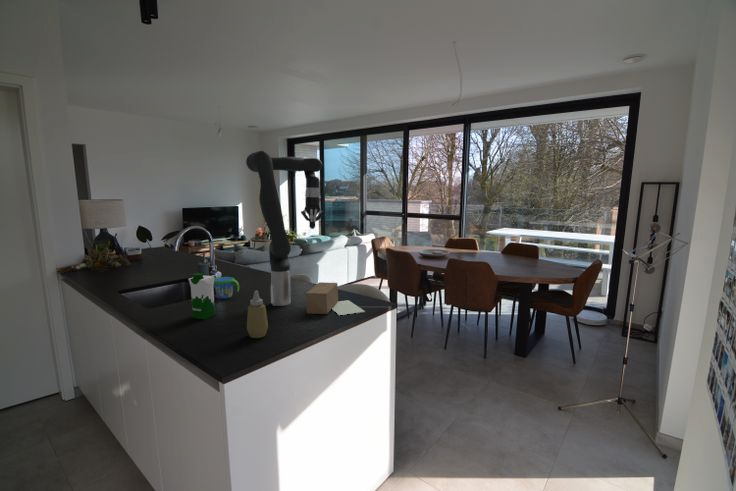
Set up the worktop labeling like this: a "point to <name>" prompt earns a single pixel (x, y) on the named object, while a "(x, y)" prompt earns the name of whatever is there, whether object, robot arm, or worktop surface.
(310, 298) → the wooden block
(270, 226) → the robot arm
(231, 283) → the snack cup
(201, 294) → the milk carton
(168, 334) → the worktop surface
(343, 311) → the mat
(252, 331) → the squeeze bottle
